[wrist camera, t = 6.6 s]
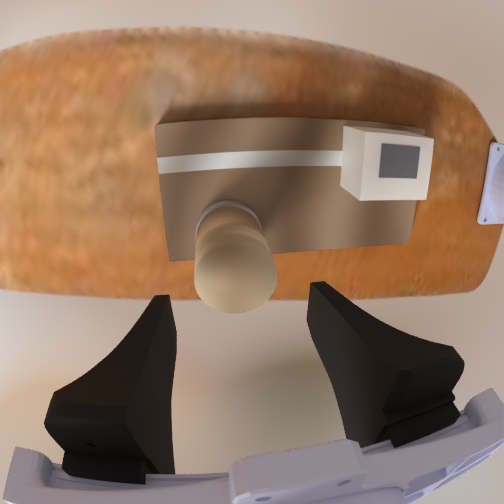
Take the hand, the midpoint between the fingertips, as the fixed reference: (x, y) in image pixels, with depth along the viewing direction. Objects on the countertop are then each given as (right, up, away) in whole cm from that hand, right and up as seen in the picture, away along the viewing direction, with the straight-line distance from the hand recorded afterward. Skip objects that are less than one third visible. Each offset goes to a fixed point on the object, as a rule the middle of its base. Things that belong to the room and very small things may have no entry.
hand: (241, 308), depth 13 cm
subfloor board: (+4, +7, +8) cm, 11 cm away
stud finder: (+9, +9, +6) cm, 14 cm away
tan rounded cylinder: (-1, +4, +7) cm, 8 cm away
